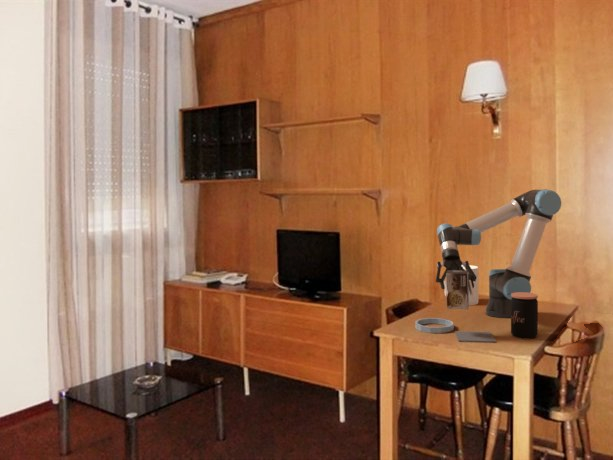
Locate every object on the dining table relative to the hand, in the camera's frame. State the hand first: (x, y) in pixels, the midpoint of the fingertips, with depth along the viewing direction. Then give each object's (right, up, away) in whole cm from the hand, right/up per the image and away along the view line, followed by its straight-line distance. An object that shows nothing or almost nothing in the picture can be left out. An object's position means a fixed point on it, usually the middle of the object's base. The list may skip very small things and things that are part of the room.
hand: (459, 294), depth 221 cm
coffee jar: (+28, -18, 0) cm, 33 cm away
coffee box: (0, -6, +4) cm, 7 cm away
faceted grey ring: (-7, -17, +16) cm, 25 cm away
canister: (+22, -13, +67) cm, 71 cm away
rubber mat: (+6, -18, 0) cm, 19 cm away
